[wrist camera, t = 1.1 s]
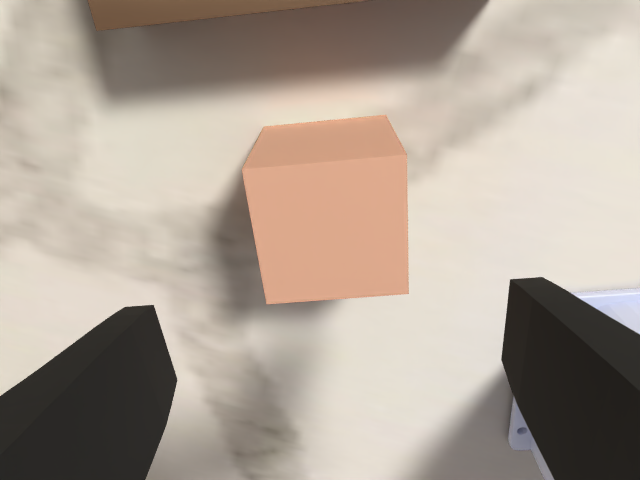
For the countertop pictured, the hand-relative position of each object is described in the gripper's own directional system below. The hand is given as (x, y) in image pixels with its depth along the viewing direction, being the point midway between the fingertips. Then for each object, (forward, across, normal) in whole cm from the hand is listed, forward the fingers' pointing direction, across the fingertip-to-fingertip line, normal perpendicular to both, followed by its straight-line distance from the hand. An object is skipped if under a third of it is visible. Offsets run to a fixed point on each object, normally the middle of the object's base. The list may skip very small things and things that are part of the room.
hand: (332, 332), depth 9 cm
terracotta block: (+10, 0, 0) cm, 10 cm away
